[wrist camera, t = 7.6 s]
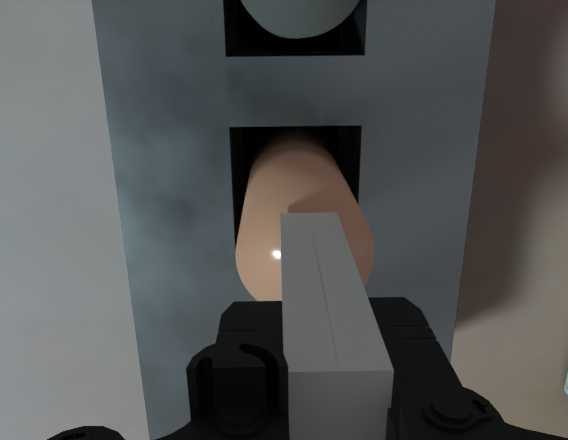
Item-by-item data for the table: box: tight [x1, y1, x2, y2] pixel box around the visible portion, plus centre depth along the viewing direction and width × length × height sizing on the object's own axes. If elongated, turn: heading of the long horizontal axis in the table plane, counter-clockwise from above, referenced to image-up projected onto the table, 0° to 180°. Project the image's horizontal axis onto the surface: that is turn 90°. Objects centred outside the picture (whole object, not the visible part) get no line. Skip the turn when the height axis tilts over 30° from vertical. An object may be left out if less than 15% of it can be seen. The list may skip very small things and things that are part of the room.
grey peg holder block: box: [92, 0, 496, 440], centre depth 23 cm, size 14×25×7 cm, turn 1°
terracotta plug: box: [235, 128, 375, 301], centre depth 18 cm, size 4×4×10 cm
